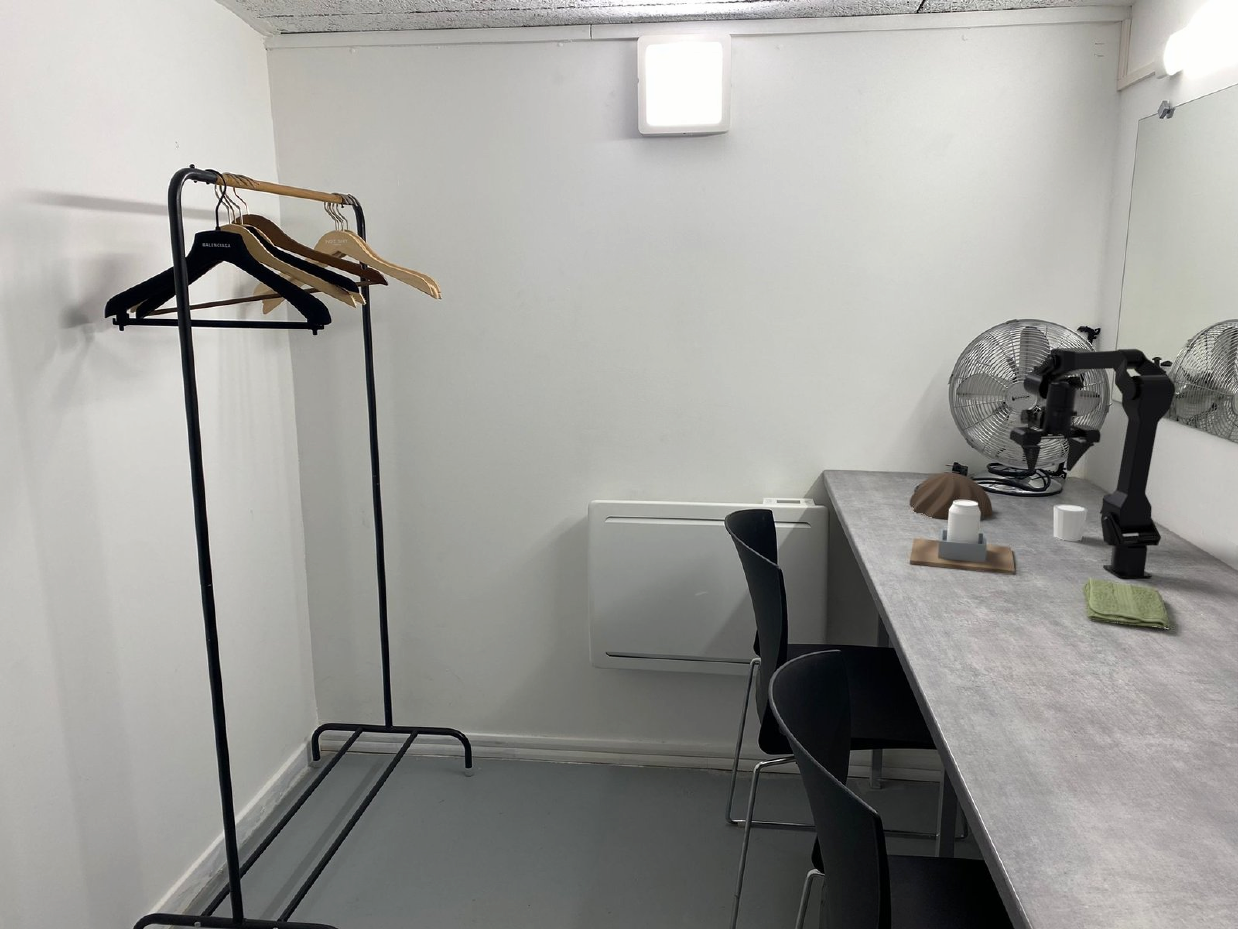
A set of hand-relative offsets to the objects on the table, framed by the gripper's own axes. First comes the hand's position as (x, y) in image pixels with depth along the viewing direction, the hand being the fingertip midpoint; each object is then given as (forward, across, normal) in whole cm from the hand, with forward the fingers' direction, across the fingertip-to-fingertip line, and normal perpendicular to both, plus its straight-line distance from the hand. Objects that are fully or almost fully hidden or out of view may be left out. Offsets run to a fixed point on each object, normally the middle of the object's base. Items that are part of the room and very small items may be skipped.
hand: (1049, 471), depth 201 cm
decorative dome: (+17, +11, -21) cm, 29 cm away
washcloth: (+11, +14, +46) cm, 49 cm away
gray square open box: (+14, +27, +14) cm, 33 cm away
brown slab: (+14, +27, +14) cm, 33 cm away
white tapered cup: (+15, -4, +5) cm, 16 cm away
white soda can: (+14, +27, +14) cm, 33 cm away
